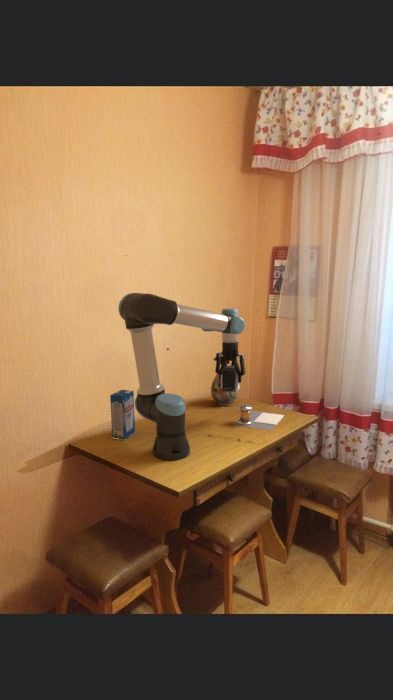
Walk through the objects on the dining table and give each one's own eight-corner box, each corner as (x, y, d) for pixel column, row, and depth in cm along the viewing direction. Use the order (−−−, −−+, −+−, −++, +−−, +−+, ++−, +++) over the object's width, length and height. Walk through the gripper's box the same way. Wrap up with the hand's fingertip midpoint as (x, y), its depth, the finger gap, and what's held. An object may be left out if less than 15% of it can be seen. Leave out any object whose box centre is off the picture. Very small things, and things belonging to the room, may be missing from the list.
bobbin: (235, 424, 203) (235, 407, 202) (240, 419, 210) (240, 403, 208) (249, 426, 200) (249, 409, 199) (254, 421, 207) (254, 405, 205)
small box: (235, 392, 201) (235, 370, 199) (221, 391, 202) (221, 369, 201) (238, 386, 211) (238, 365, 209) (225, 386, 212) (225, 365, 211)
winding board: (232, 427, 203) (232, 423, 203) (249, 413, 224) (249, 409, 224) (271, 433, 195) (271, 429, 195) (285, 417, 216) (285, 414, 216)
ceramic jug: (206, 406, 237) (206, 352, 232) (216, 399, 251) (216, 348, 246) (236, 409, 230) (236, 354, 225) (244, 402, 244) (244, 350, 239)
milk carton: (123, 431, 200) (121, 389, 196) (135, 432, 198) (133, 390, 194) (112, 438, 190) (110, 395, 187) (124, 440, 188) (122, 396, 185)
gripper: (253, 341, 202) (252, 388, 206) (213, 339, 211) (214, 384, 214) (247, 343, 195) (247, 392, 199) (207, 341, 204) (208, 388, 208)
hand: (230, 388), depth 207 cm, fingers closed on small box, 7 cm apart
